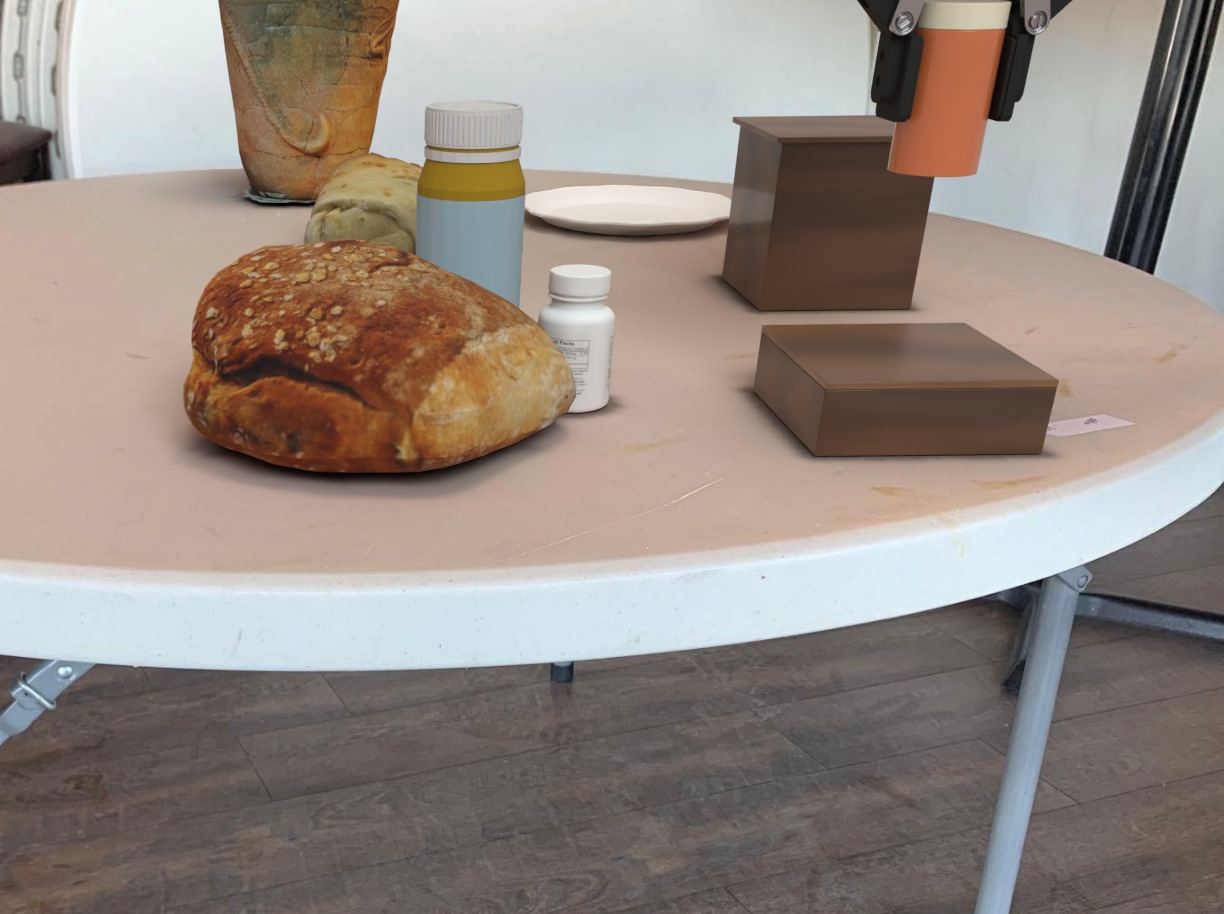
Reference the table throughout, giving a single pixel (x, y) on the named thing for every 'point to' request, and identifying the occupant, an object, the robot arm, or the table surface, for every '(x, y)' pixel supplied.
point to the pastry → (368, 203)
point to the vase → (304, 87)
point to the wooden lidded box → (902, 390)
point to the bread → (366, 362)
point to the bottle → (473, 193)
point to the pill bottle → (582, 329)
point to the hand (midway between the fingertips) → (942, 114)
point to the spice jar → (951, 88)
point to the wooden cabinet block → (823, 215)
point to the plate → (628, 209)
